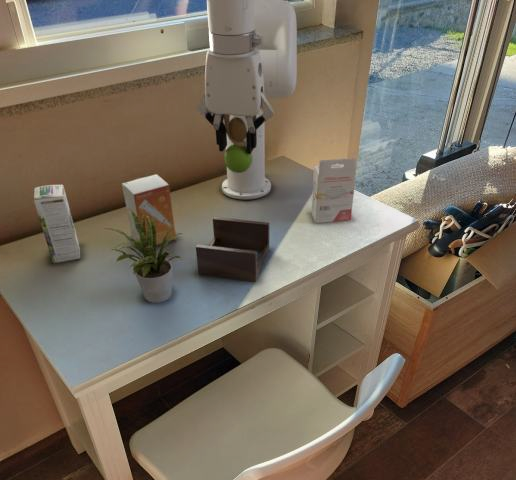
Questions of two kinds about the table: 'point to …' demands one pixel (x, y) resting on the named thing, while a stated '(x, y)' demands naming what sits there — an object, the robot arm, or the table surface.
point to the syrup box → (57, 222)
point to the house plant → (150, 261)
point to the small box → (150, 205)
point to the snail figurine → (236, 145)
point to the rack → (234, 260)
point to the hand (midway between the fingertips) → (236, 148)
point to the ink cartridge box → (333, 190)
